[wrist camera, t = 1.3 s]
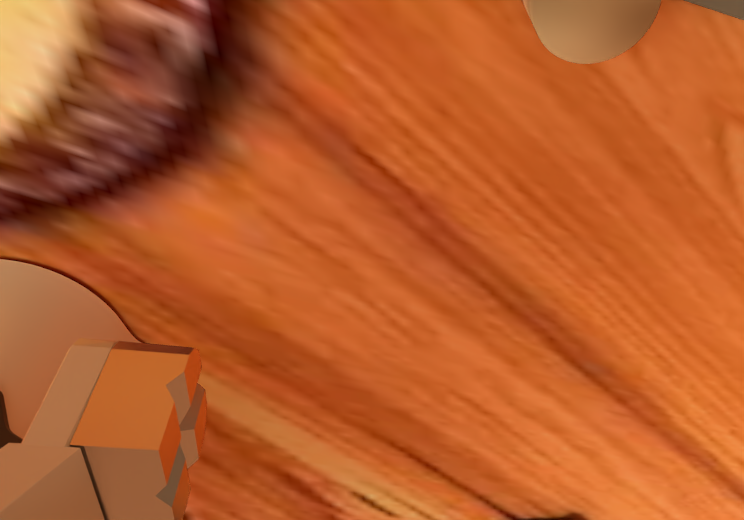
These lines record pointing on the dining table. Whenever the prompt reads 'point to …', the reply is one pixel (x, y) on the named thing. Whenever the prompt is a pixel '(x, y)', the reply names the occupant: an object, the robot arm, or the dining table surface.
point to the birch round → (590, 26)
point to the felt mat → (723, 6)
